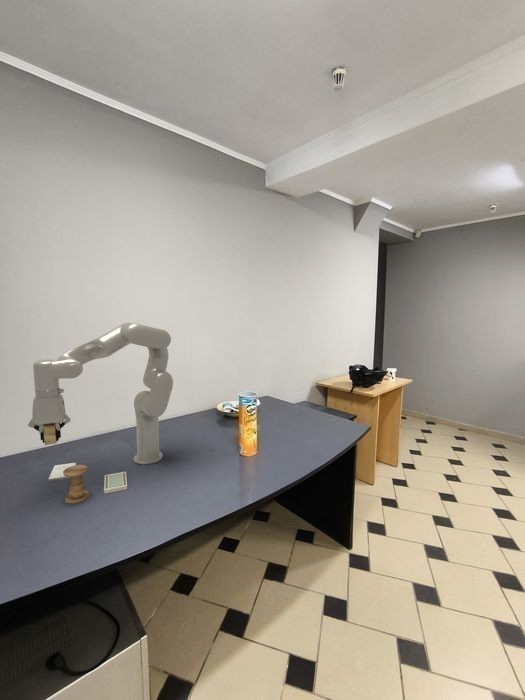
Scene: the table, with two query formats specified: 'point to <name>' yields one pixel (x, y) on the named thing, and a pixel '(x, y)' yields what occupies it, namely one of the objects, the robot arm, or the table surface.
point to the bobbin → (76, 484)
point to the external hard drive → (59, 472)
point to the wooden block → (49, 433)
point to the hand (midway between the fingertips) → (51, 440)
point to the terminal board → (115, 482)
